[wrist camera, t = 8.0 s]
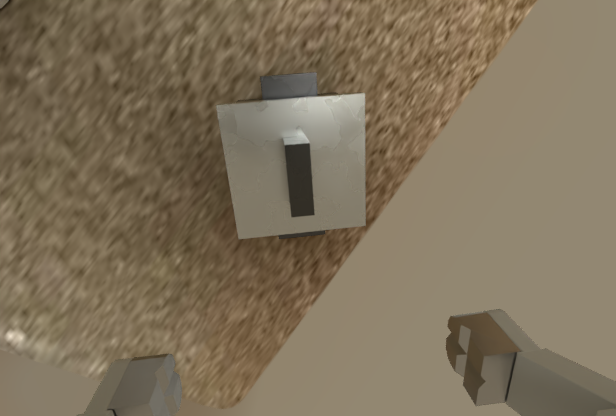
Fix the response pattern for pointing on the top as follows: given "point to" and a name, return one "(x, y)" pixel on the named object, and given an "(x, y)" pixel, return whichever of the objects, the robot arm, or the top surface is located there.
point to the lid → (295, 163)
